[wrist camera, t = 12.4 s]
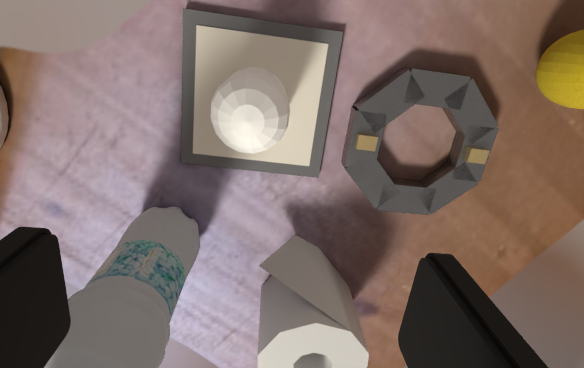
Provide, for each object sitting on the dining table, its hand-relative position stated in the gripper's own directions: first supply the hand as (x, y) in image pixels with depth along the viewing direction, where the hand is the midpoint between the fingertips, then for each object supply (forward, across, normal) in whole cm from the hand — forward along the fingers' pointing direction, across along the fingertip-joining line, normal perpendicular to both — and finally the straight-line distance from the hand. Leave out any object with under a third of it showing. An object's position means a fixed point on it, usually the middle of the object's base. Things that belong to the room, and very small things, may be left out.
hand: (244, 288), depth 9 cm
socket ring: (+22, -13, +1) cm, 26 cm away
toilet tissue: (+22, -5, +17) cm, 29 cm away
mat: (+22, +1, -2) cm, 22 cm away
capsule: (+22, +1, -2) cm, 22 cm away
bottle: (+22, +8, +11) cm, 26 cm away
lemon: (+22, -23, -7) cm, 33 cm away
